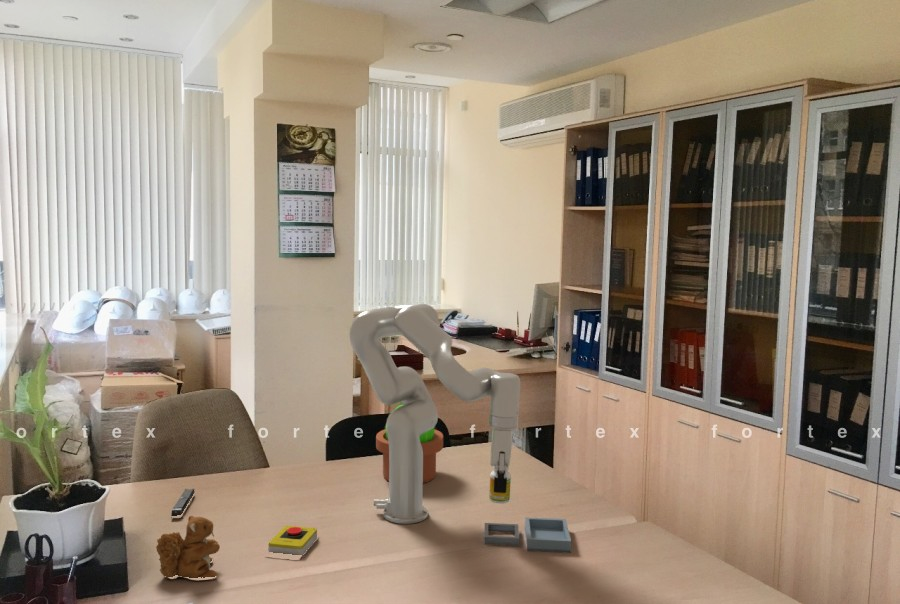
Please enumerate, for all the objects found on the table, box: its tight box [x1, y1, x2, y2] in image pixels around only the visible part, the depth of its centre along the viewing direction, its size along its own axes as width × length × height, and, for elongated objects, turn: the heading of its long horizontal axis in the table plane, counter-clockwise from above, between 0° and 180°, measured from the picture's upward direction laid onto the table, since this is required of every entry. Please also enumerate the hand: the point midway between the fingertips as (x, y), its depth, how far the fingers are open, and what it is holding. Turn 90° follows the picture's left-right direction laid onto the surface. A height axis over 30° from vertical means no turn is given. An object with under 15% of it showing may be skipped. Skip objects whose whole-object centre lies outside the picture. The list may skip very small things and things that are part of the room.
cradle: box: [483, 522, 520, 547], centre depth 189 cm, size 9×9×2 cm
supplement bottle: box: [488, 463, 512, 505], centre depth 188 cm, size 5×5×10 cm
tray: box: [524, 517, 572, 553], centre depth 188 cm, size 11×14×3 cm
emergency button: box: [267, 525, 318, 555], centre depth 182 cm, size 9×4×15 cm
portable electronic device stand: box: [170, 488, 195, 516], centre depth 206 cm, size 18×3×3 cm, turn 8°
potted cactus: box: [375, 402, 444, 484], centre depth 234 cm, size 22×22×25 cm
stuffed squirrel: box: [155, 515, 221, 578], centre depth 166 cm, size 10×14×13 cm
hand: (499, 487), depth 188 cm, fingers closed on supplement bottle, 5 cm apart
